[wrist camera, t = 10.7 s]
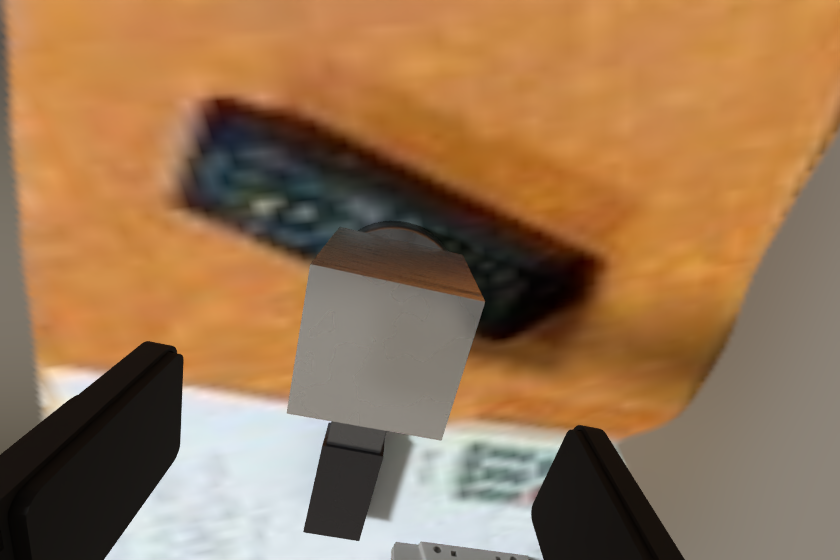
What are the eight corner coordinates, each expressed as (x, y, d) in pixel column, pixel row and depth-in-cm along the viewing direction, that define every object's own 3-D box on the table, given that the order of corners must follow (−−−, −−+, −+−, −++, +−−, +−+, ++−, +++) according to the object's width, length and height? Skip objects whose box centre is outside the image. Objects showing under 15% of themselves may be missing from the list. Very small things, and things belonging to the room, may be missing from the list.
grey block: (339, 226, 19) (310, 264, 13) (462, 254, 19) (485, 301, 14) (319, 338, 21) (286, 413, 15) (432, 360, 21) (441, 440, 16)
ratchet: (386, 517, 28) (381, 608, 22) (285, 500, 27) (255, 590, 22) (472, 238, 21) (493, 271, 16) (343, 206, 21) (319, 229, 15)
